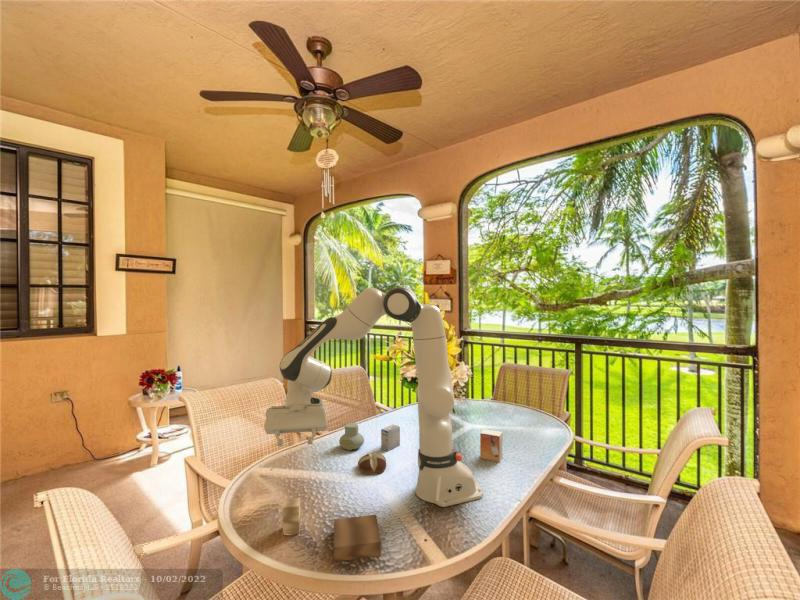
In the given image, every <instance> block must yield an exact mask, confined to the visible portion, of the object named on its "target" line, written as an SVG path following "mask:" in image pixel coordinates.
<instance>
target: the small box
mask: <svg viewBox="0 0 800 600" xmlns="http://www.w3.org/2000/svg"><path fill="white" fill-rule="evenodd" d="M479 439H480V440H479V441H480V442H479V444H480V445H479V446H480V447H479V451H480V453H479V454H480V456H479V458H480V459H482V460H486V461H487V460H488V461H491V462H497V463H500V462H501V460H502V458H503V449H504V448H503V443H504V442H503V432H502V431H497V430H490V429H485V428H483V430H481V432H480V437H479Z"/></svg>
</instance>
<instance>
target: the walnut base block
mask: <svg viewBox="0 0 800 600" xmlns="http://www.w3.org/2000/svg"><path fill="white" fill-rule="evenodd" d="M380 556H382V541H381V536H380V529H379V523H378V518H377V514H369V515H360V516H359V515H358V516H352V517H342V518H334V519H333V562H334V563H336V562H341V561H342V562H343V561H347V560H348V561H349V560H356V559H357V560H358V559H365V558H373V557H380Z"/></svg>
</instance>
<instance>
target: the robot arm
mask: <svg viewBox="0 0 800 600" xmlns="http://www.w3.org/2000/svg"><path fill="white" fill-rule="evenodd" d="M386 315H387V316H389V318H391V319H393V320H395V321H401V322H406V323H409V324H410V326H411V331H412V338H413V339H412V340H413V341H412V342H413V350H414V360H415V368H416V376H417V383H418V384H417V387H416V388H417V411H418V414H417V415H418V427H419V429H418V430H419V431H418V432H419V435H418V436H419V438H418V439H419V445H418V446H419V448H418V451H417V452H418V453H417V464H418V476H417V483H416V487H415V489H414V491H415V492H414V493H415V494H416V496H417V497H418V498H419V499H421V500H422V501H426V502H428V503H432V504H434V505H436V506H439V507H442V508H447V507H449V506H454V505H458V504H463V503H466V502H471V501H474V500H478V499H481V498H483V489H482V486H481V485H480V484H479V482H478V481H477V480H476V479H475V476H474V473H473V472H472V470H471V469H470V467H469V466H468V465H466V464H464V463H463V462H462V461H463V456H462V455H461V453H460V452H458V451H457V450H456V449H455V448H454V447H453V430H452V429H453V427H452V426H453V425H452V420H451V412H452V411H453V409H454V407H455V406H454V405H455V393H454V386H453V382H452V381H453V379H452V374H451V369H450V362H449V357H448V356H449V355H448V348H447V347H448V346H447V345H448V344H447V337H446V328H445V323H444V319H443V316H442V312H441V309H440V308H439V307H438V306H437V305H434V304H430V303H427V304H426V303H421V302H420V301H419V299H418V296H417V294H416V293H415V291H413V290H412V289H411V288H409V287H406V286H397V287H393V288H391V289H389V290H388V291H387V293H385V292H383V291H381V290H380V289H378V288H375V287H367V288H365V289H363V291H362V292H360V293H359V294H358V295H357V296H356V297H355V298H354V299H353V300H352V301H351V302H350V304H349V305H348V306H347V307H346V308H345V310H343V311H342V312H341V313H339V314H337V315H336V316H331V317H328V318H326V319H324V320H323V321H322V322H321V323H320V324H319V325H318V326H317V327H316V328H315V329H313V330H312V332H310V333H309V334H308V335H307V336H306V337H305V338H304V339H303V340H301V342H299V344H298V345H296V346H295V347H294V348H293V349H291V350H289V351H288V352H287V353H286V354H285V355H283V357H282V358H281V360H280V363H279V371H280V374H281V376H282V378H283V379H284V380H287V384H286V390H287V392H286V395H285V401H284V405H278V406H277V405H273V406H271V407H268V408H267V409H266V410H265V421H264V426H263V429H264V432H265V433H266V434H267V435H274V436H275V438H276V442H277V443H276V446H277V447H283V443H284V441H283V438H280V437H281V434H296V433H297V434H299V433H311V435H310V436H309V437H307V445H313V442H314V439H315V437H316V436H317V432H325V431H326V430H327V429H328V415H327V410H326V408H325V403H324V402H325V401H324V399H323V398H320V397H316V396H312V395H313V393H317V392H319V391H321V390H323V389H325V388H327V387H328V386H329V385H330V383H331V380H332V378H333V377H332V376H333V371H332V367H331V365H329V364H328V363H326V362H323V361H321V360H320V359H317V358H314V357H312V356H311V355H312V354H313V353H314V352H315V351H316V350H318V348H319V347H321V346H322V345H323V344H324V343H326V342H328V341H330V340H331V341H332V340H347V341H357V340H361V339H362V338H364V337H366V336H367V334H369V332H370V331H371V330H372V329H373V328H374V326H375V325H376V323H377V322H378V321H379V320H380V318H382V317H383V316H386Z"/></svg>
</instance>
